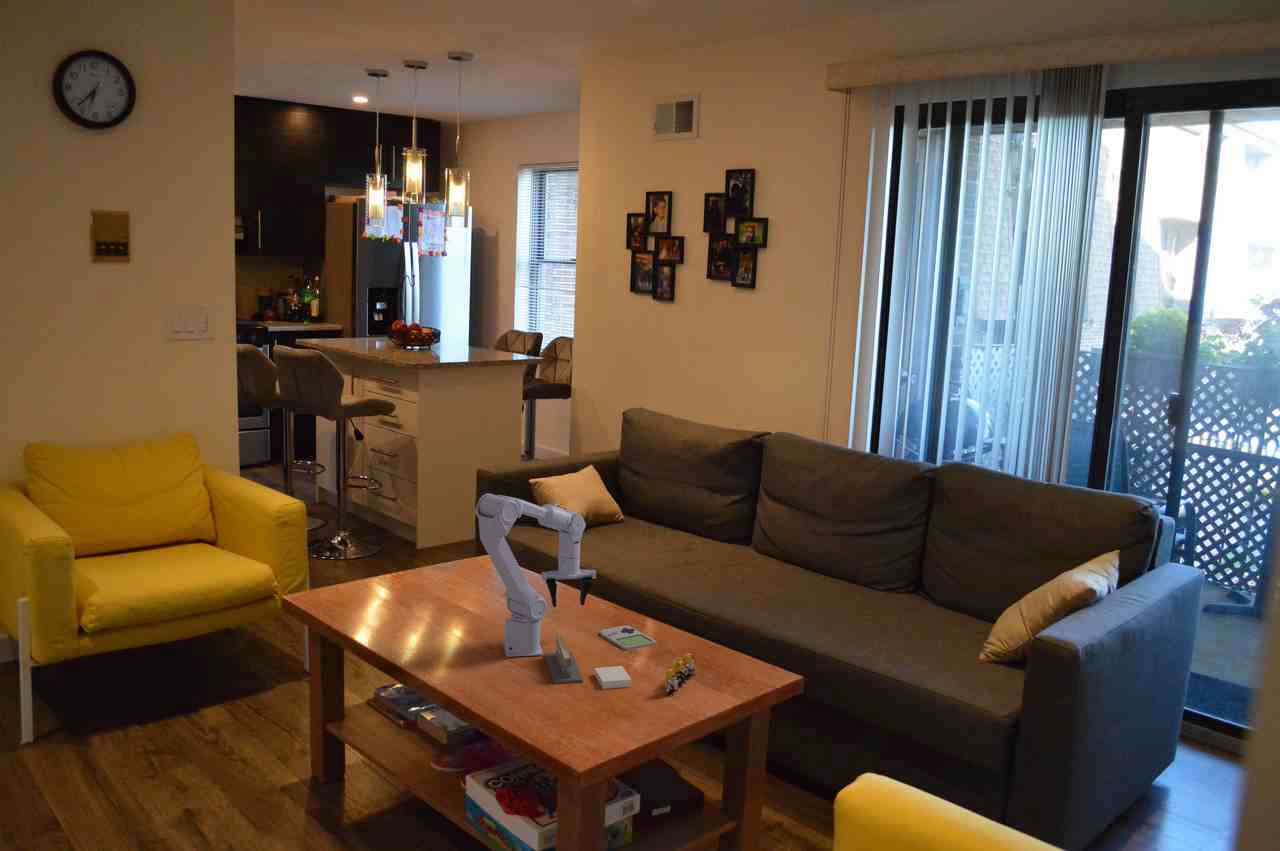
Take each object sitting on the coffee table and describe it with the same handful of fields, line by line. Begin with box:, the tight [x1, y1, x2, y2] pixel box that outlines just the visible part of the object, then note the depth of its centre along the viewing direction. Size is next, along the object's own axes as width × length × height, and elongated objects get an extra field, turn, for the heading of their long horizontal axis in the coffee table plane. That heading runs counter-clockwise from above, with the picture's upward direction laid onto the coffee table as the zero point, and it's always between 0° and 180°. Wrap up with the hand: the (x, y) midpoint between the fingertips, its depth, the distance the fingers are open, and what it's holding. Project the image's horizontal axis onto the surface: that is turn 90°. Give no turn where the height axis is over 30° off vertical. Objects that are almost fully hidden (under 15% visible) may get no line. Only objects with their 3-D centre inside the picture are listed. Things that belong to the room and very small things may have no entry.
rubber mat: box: [544, 651, 584, 685], centre depth 260 cm, size 7×19×1 cm, turn 12°
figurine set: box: [664, 651, 696, 697], centre depth 252 cm, size 3×16×7 cm, turn 156°
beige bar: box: [555, 635, 571, 678], centre depth 260 cm, size 2×16×5 cm, turn 12°
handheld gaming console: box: [599, 625, 657, 651], centre depth 283 cm, size 10×2×15 cm
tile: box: [594, 665, 632, 690], centre depth 253 cm, size 7×2×9 cm
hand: (568, 605), depth 280 cm, fingers open, 7 cm apart
